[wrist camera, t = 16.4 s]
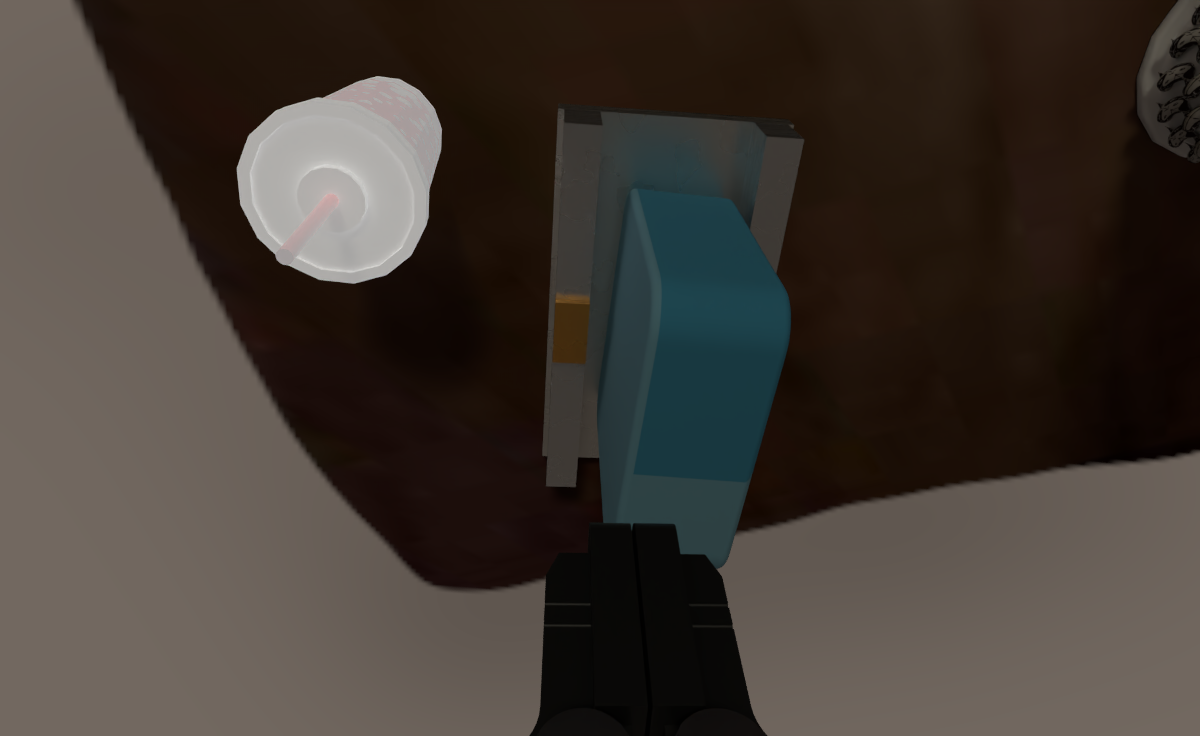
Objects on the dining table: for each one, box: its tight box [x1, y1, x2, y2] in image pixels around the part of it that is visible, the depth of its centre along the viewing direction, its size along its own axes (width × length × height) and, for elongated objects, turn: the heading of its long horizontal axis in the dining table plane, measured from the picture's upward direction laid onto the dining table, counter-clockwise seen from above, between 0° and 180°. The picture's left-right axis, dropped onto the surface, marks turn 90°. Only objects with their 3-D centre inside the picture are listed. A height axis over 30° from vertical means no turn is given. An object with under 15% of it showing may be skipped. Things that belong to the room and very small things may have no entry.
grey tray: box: [542, 104, 804, 487], centre depth 36 cm, size 10×18×4 cm, turn 176°
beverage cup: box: [237, 76, 442, 283], centre depth 27 cm, size 6×6×14 cm
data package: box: [597, 189, 791, 569], centre depth 31 cm, size 12×4×12 cm, turn 173°
